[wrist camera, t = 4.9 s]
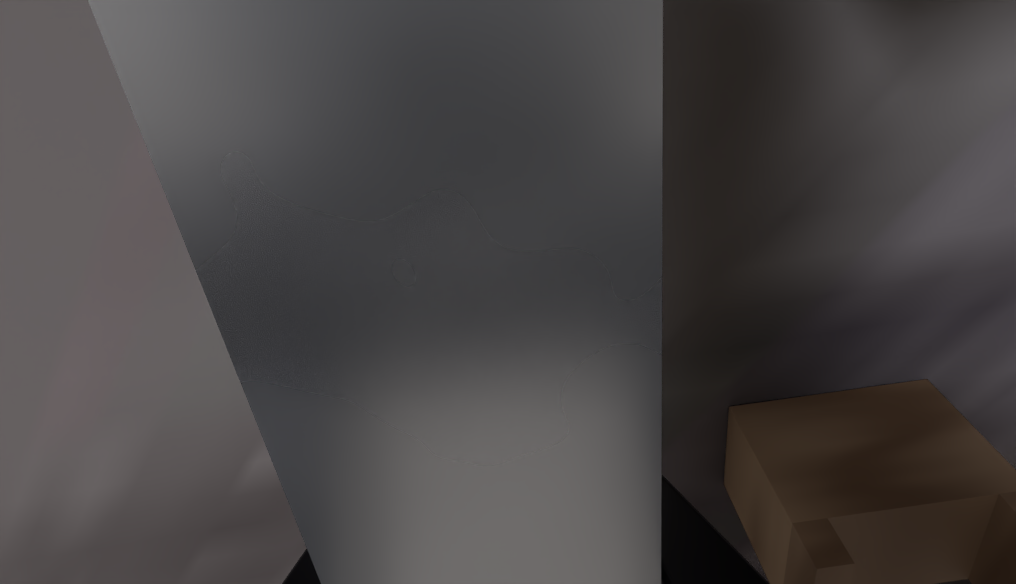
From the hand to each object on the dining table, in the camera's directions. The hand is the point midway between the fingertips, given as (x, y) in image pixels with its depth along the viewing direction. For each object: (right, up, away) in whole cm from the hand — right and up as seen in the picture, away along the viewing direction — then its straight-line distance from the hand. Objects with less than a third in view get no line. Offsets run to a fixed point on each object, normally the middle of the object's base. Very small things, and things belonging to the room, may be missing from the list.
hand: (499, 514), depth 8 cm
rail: (0, +1, +1) cm, 1 cm away
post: (+9, -1, +11) cm, 15 cm away
